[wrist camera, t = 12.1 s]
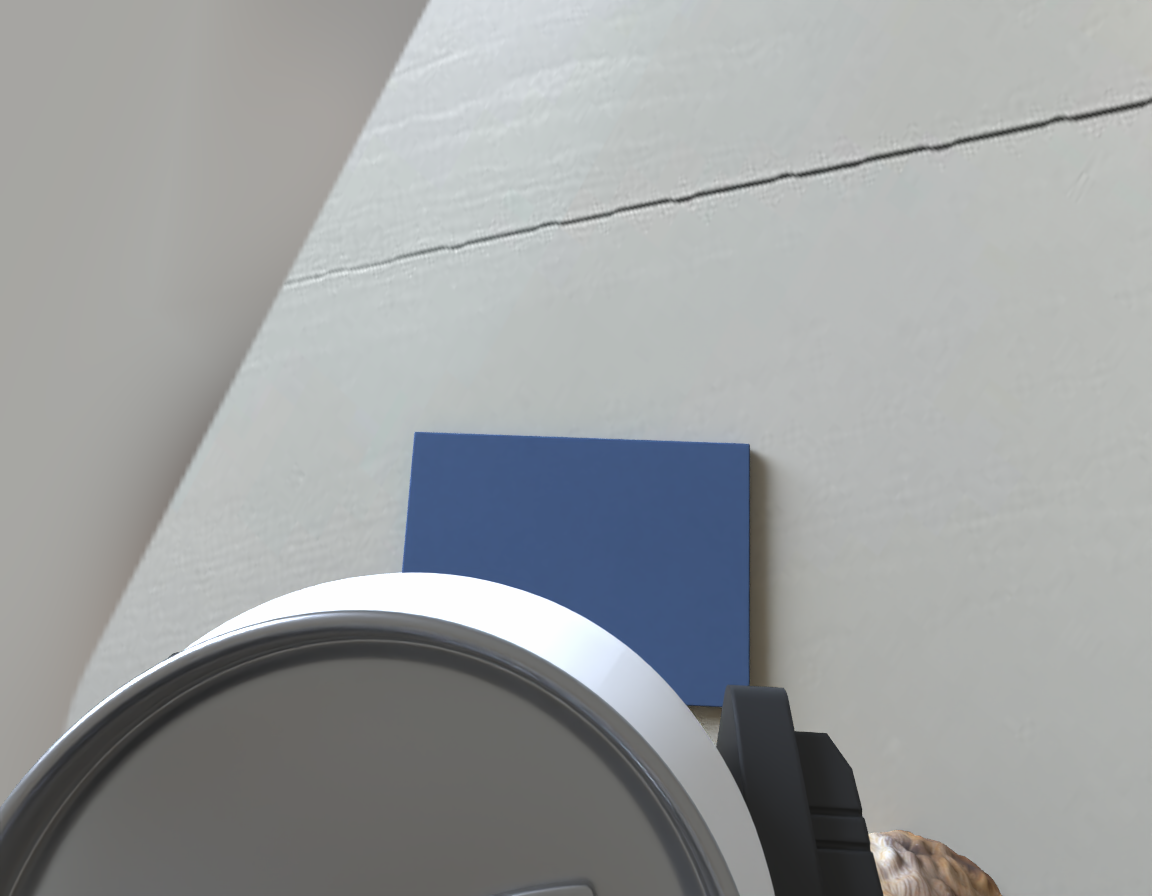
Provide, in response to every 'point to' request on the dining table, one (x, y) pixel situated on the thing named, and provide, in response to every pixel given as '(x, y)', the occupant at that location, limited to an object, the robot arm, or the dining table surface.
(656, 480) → the blue mat
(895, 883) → the lion figurine
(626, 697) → the can
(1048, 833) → the dining table surface
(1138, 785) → the dining table surface
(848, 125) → the dining table surface
